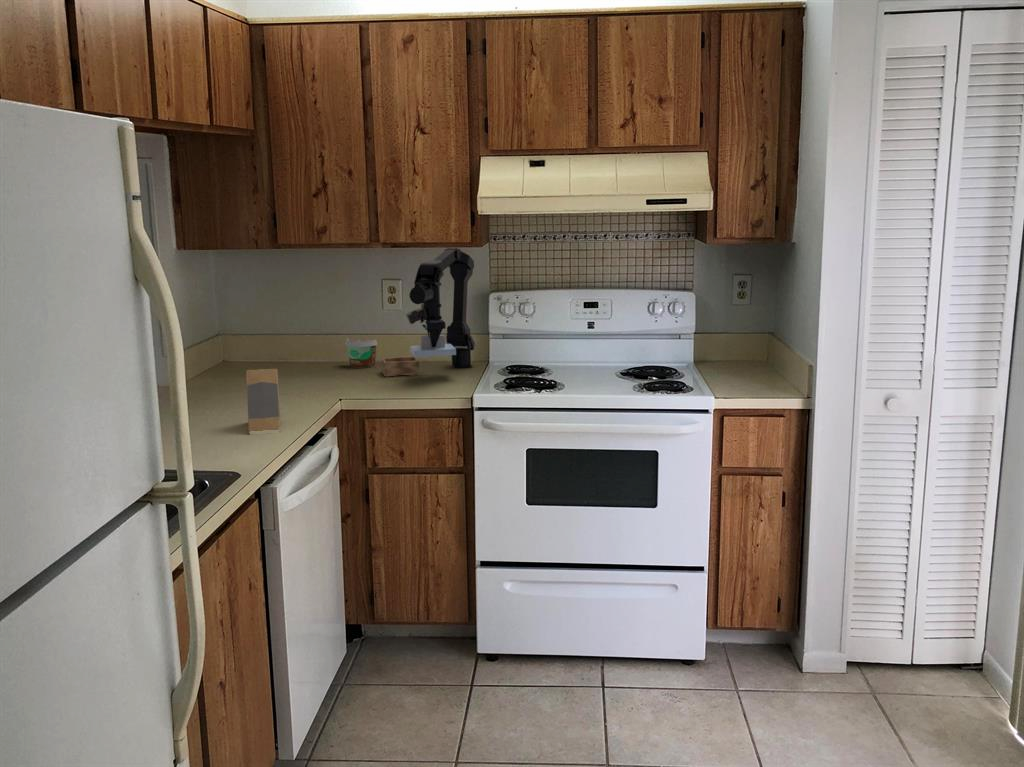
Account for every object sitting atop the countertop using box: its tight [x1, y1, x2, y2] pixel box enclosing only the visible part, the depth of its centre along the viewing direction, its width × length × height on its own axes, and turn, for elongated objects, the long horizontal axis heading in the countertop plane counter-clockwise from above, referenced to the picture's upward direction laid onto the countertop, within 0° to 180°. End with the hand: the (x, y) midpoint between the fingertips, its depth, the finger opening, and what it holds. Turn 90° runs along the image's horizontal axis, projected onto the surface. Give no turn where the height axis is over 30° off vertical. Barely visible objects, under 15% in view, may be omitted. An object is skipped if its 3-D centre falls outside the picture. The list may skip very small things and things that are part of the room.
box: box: [381, 356, 420, 377], centre depth 324 cm, size 12×9×5 cm
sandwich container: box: [245, 368, 282, 432], centre depth 252 cm, size 9×15×15 cm, turn 14°
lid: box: [409, 334, 456, 358], centre depth 313 cm, size 14×11×6 cm
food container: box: [345, 338, 379, 369], centre depth 337 cm, size 12×6×10 cm, turn 73°
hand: (433, 346), depth 313 cm, fingers closed on lid, 2 cm apart
